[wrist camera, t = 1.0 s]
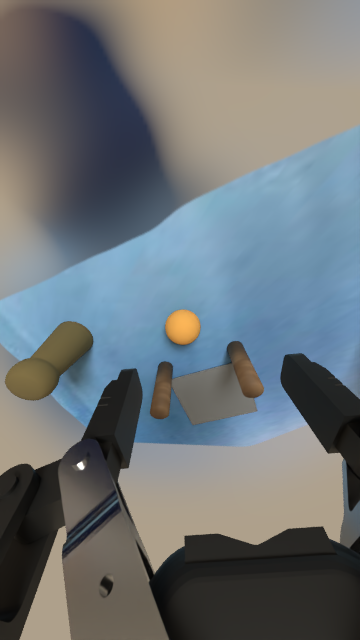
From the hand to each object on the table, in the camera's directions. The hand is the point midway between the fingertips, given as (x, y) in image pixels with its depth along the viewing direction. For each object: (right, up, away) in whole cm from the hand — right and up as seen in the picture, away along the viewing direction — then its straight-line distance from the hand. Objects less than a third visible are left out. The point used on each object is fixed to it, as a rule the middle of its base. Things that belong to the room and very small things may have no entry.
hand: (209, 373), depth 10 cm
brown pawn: (-19, 0, +20) cm, 28 cm away
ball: (-1, +2, +16) cm, 16 cm away
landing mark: (+5, -12, +26) cm, 29 cm away
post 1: (-4, -6, +23) cm, 24 cm away
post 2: (+8, -2, +20) cm, 22 cm away
